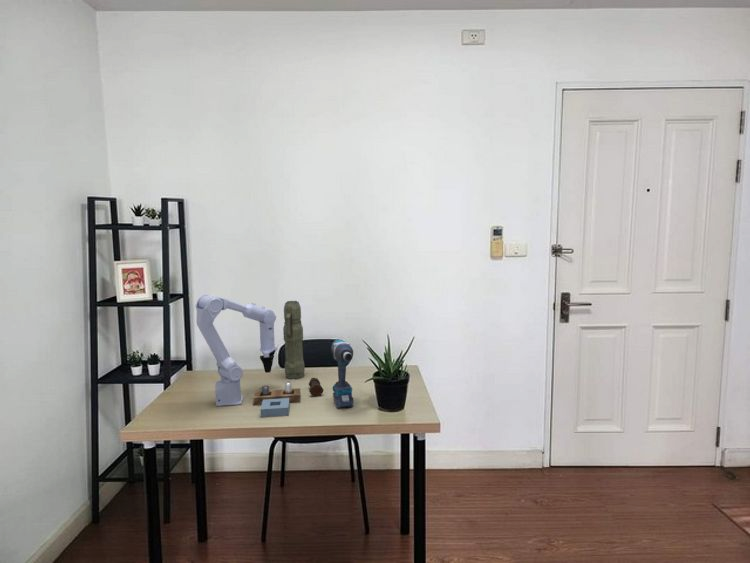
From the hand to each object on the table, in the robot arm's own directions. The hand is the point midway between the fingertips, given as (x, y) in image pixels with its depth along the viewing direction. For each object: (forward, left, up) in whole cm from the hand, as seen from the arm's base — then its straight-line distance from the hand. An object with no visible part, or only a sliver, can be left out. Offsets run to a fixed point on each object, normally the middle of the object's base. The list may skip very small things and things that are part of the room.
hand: (268, 369), depth 206 cm
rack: (+4, -12, -9) cm, 15 cm away
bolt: (+19, -3, -10) cm, 22 cm away
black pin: (0, -12, -9) cm, 15 cm away
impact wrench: (+30, -22, -10) cm, 38 cm away
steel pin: (+9, -12, -9) cm, 17 cm away
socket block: (+4, -23, -9) cm, 25 cm away
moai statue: (+10, +18, -10) cm, 23 cm away
